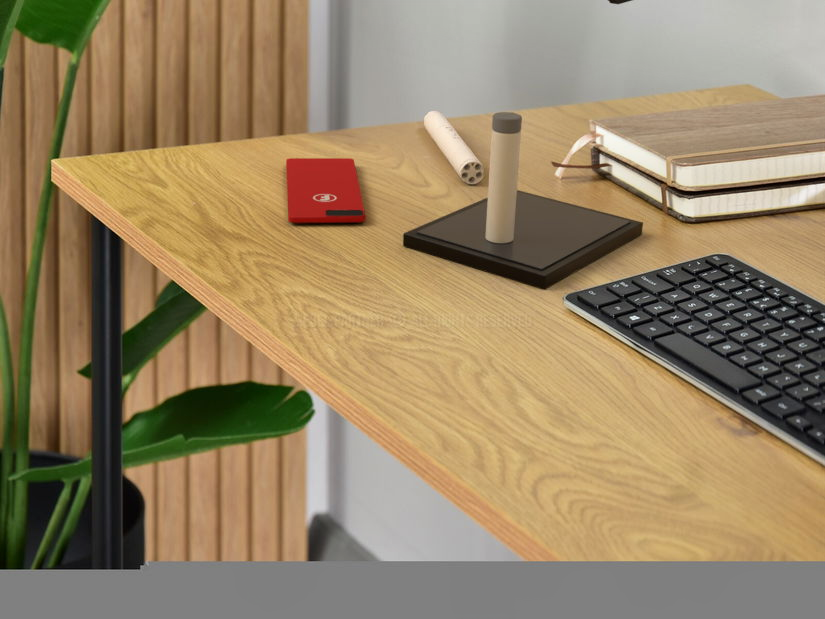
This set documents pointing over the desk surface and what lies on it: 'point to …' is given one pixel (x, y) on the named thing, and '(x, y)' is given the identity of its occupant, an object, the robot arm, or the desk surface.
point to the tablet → (526, 239)
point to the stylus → (503, 177)
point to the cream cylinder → (454, 148)
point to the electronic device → (323, 191)
